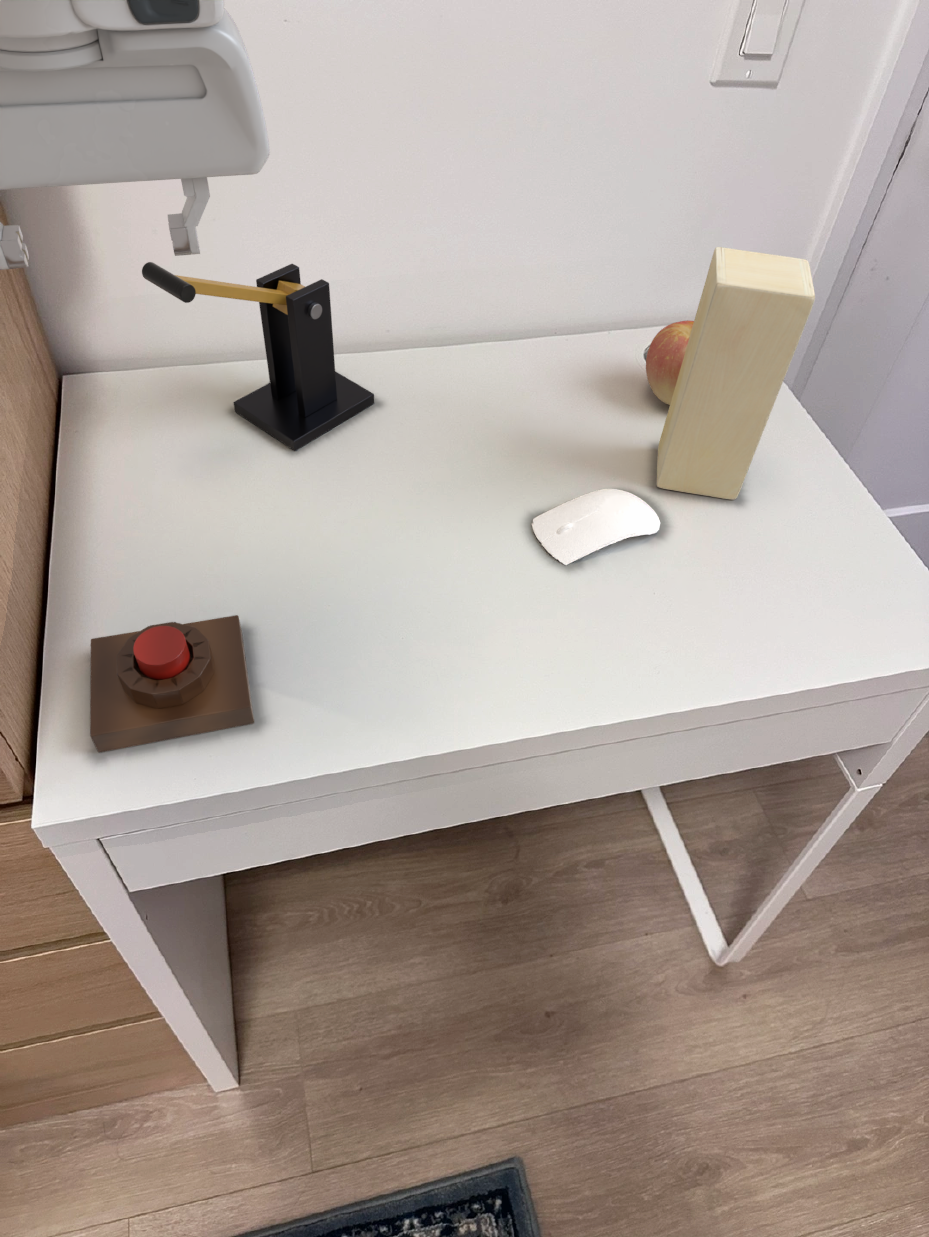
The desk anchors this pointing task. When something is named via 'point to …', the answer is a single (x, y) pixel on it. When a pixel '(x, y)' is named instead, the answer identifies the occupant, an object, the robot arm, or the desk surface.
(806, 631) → the desk surface
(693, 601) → the desk surface
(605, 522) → the computer mouse
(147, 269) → the bolt lever
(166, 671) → the release button
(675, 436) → the tall wooden block
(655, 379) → the apple
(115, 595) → the desk surface
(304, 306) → the bolt bracket
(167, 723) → the release housing
